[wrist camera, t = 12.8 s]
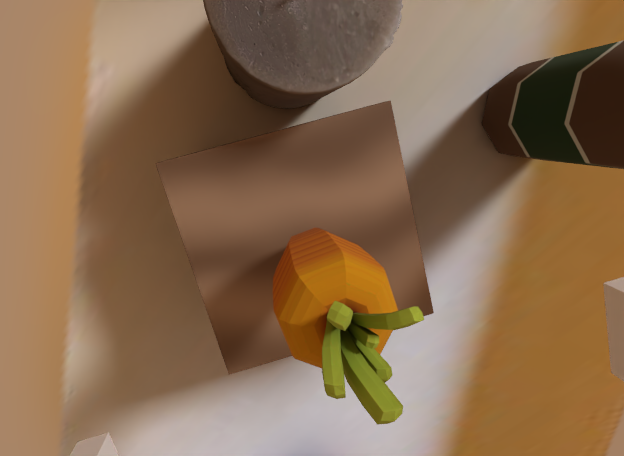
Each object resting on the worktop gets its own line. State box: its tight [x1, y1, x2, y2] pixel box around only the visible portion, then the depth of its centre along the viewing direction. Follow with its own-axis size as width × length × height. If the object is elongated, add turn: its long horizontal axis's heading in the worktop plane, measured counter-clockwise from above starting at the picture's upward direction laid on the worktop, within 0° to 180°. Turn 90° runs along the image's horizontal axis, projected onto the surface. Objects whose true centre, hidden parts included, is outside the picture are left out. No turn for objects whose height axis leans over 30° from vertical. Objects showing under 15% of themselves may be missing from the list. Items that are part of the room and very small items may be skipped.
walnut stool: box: [156, 101, 434, 374], centre depth 32 cm, size 14×14×10 cm
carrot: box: [273, 228, 424, 424], centre depth 19 cm, size 5×5×15 cm
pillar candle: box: [203, 0, 403, 108], centre depth 26 cm, size 10×10×15 cm
